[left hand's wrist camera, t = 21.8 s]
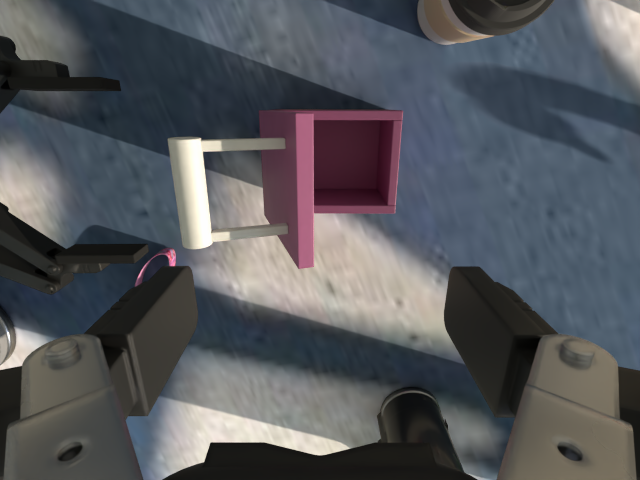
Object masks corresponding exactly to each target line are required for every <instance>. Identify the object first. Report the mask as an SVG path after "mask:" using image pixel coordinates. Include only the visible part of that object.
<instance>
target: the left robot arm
mask: <svg viewBox="0 0 640 480" xmlns="http://www.w3.org/2000/svg"><path fill="white" fill-rule="evenodd" d="M523 301H524V300H523V299H521V298H520V297H519V296H518V295H517V294H516V293H515V292H514V291H513V290H511V289H509V288H507V287H506V286H504V285H502V284H500V283H498V282H494V281H493V280H492V279H491V278H490V277H489V276H488V275H487V274H486V273H485V272H484V271H483V270H482V269H481V268H480V267H452V269H451V271H450V274H449V281H448V288H447V295H446V302H445V309H444V322H445V327H446V330H447V332H448V334H449V336H450V338H451V340H452V341H453V343H454V345H455V347H456V348H457V350H458V352H459V354H460V356H461V357H462V359H463V361H464V363H465V364H466V366H467V368H468V370H469V372H470V373H471V375H472V377H473V379H474V380H475V382H476V384H477V386H478V388H479V389H480V391H481V393H482V395H483V396H484V398H485V400H486V402H487V404H488V405H489V407H490V409H491V411H492V412H493V414H494V416H495V417H515V421H514V424H513V427H512V430H511V434H510V437H509V440H508V444H507V447H506V450H505V454H504V457H503V460H502V464H501V467H500V470H499V474H498V477H497V480H640V371H638V370H633V369H628V368H623V367H618V365H617V362H616V360H615V359H614V358H613V357H612V356H611V355H610V354H609V353H608V352H607V351H605V350H604V349H602V348H601V347H599V346H597V345H595V344H594V343H592V342H589V341H587V340H584V339H581V338H578V337H574V336H570V335H564V334H558V333H557V332H556V331H555V330H554V329H553V328H552V327H551V326H550V325H549V324H548V323H547V322H546V321H544V320H543V319H542V318H541V317H540V316H539V315H538V314H537V313H536V312H535V311H532V308H531V307H530V306H529V305H528V304H527V303H526V302H523ZM197 321H198V309H197V302H196V295H195V288H194V281H193V274H192V270H191V268H190V267H189V266H163V267H161V268H160V269H159V270H158V271H157V272H156V273H155V274H154V276H153V277H152V278H151V279H150V280H149V281H148V282H143V283H141V284H139V285H137V286H136V287H134V288H132V289H130V290H129V291H128V292H127V293H126V294H124V295H123V296H122V297H121V298H120V299H119V302H116V303H115V304H114V305H113V306H112V307H111V310H108V311H107V312H106V313H105V314H104V315H103V316H102V317H101V318H100V319H99V320H98V321H97V322H95V323H94V324H93V325H92V326H91V327H90V328H89V329H88V330H87V331H86V332H85V333H84V334H76V335H70V336H66V337H62V338H59V339H56V340H53V341H51V342H48V343H46V344H45V345H43V346H41V347H39V348H38V349H36V350H35V351H33V352H32V353H31V354H30V355H29V356H28V357H27V358H26V359H25V360H24V362H23V365H22V366H20V367H14V368H9V369H4V370H0V480H143V477H142V474H141V470H140V467H139V464H138V460H137V457H136V454H135V450H134V447H133V444H132V440H131V437H130V434H129V430H128V427H127V424H126V421H125V420H126V418H127V417H128V416H148V414H149V413H150V411H151V409H152V407H153V405H154V404H155V402H156V400H157V398H158V396H159V395H160V393H161V391H162V389H163V387H164V386H165V384H166V382H167V380H168V378H169V377H170V375H171V373H172V371H173V369H174V368H175V366H176V364H177V362H178V360H179V359H180V357H181V355H182V353H183V351H184V350H185V348H186V346H187V344H188V342H189V341H190V339H191V337H192V335H193V333H194V332H195V329H196V326H197ZM377 419H378V424H379V429H380V435H381V439H380V440H379V441H378V443H372V444H368V445H364V446H360V447H356V448H352V449H348V450H344V451H340V452H336V453H332V454H327V455H322V456H318V455H313V454H308V453H304V452H300V451H296V450H292V449H288V448H284V447H280V446H276V445H272V444H268V443H210V446H209V449H208V452H207V456H206V459H205V462H204V463H200V464H196V465H193V466H191V467H188V468H185V469H182V470H180V471H178V472H176V473H174V474H172V475H170V476H168V477H166V478H165V479H163V480H477V479H475V478H474V477H472V476H470V475H468V474H466V473H464V470H463V468H462V465H461V463H460V460H459V458H458V455H457V453H456V450H455V448H454V445H453V443H452V440H451V437H450V435H449V432H448V425H447V423H446V420H445V422H444V419H443V417H442V414H441V411H440V408H439V405H438V403H437V400H436V398H435V397H434V396H433V395H432V394H431V393H429V392H428V391H426V390H423V389H420V388H404V389H401V390H398V391H396V392H394V393H392V394H391V395H389V396H388V397H387V398H386V399H385V401H384V402H383V404H382V407H381V413H380V414H379V415H378V416H377Z"/></svg>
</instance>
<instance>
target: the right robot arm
mask: <svg viewBox="0 0 640 480" xmlns="http://www.w3.org/2000/svg"><path fill="white" fill-rule="evenodd" d="M15 50H16V47H15V44H14V42H13V41H12V40H11V39H9V38H7V37H3V36H0V113H1V112H2V111H3V110H4V108H5V107H6V106H7V105H8V104H9V102H10V101H11V100H12V99H13V98H14V97H15V95H16V94H17V93H18V92H19V91H20V89H21V90H33V91H121V88H120V82H119V80H113V79H107V78H101V77H70V76H69V71H68V66H66V65H64V64H61V63H58V62H53V61H48V60H20V59H19V58H18V56H17V55H16V53H15ZM8 210H9V209H8V207H7V206H5V205H4V204H2V203H1V202H0V276H2V277H5V278H8V279H10V280H13V281H16V282H18V283H21V284H23V285H26V286H29V287H31V288H34V289H36V290H39V291H42V292H44V293H47V294H54V293H56V292H57V291H59V290H60V289H62V288H63V287H64V286H66V285H67V284H69V283H70V282H72V281H73V279H74V276H73V274H72V273H97V272H99V271H102V270H103V269H104V268H106V267H107V266H108V265H110V263H136V262H137V261H138V260H139V259H141V258H142V257H143V256H144V255H145V254H147V253H148V252H149V250H148V244H75V245H73V246H71V247H69V248H68V249H65V248H63V247H62V246H60V245H59V244H57V243H56V242H54V241H53V240H51V239H49V238H48V237H46V236H45V235H43V234H42V233H40V232H39V231H37V230H36V229H34V228H32V227H31V226H29V225H28V224H26V223H25V222H23V221H22V220H20V219H19V218H17V217H15V216H14V215H12V214H11V213H9V212H8ZM15 345H16V334H15V330H14V327H13V324H12V322H11V320H10V318H9V317H8V315H7V314H6V312H5V311H4V310H3V309H2V308H1V307H0V365H1V364H3V363H4V362H5V361H6V360H7V359H8V358H9V357H10V356H11V355H12V353H13V351H14V349H15Z"/></svg>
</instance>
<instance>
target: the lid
mask: <svg viewBox="0 0 640 480" xmlns="http://www.w3.org/2000/svg"><path fill="white" fill-rule="evenodd" d="M259 123H260V138H250V139H209V140H201V138H200V137H173V138H168V145H169V152H170V159H171V166H172V173H173V180H174V187H175V194H176V201H177V208H178V215H179V222H180V229H181V236H182V243H183V246H184V247H185V248H188V249H200V248H205V247H208V246H210V245H211V244H212V242H216V241H225V240H235V239H244V238H254V237H263V236H273V235H277V236H278V237H279V239H280V240H281V242H282V244H283V245H284V247H285V248H286V250H287V251H288V253H289V255H290V256H291V258H292V259H293V261H294V262H295V264H296V266H297V267H298V269H301V268H308V267H314V136H313V113H305V112H289V111H273V110H259ZM239 150H261V160H262V178H263V197H264V215H265V217H266V218H267V220H268V221H269V223H270V224H269V225H258V226H248V227H238V228H227V229H217V230H211V223H210V214H209V205H208V196H207V187H206V178H205V169H204V160H203V152H209V151H239Z"/></svg>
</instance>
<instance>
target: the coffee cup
mask: <svg viewBox="0 0 640 480" xmlns="http://www.w3.org/2000/svg"><path fill="white" fill-rule="evenodd" d="M553 2H554V0H419V2H418V8H417V16H418V22H419V25H420V27H421V29H422V31H423V33H424V34H425V35H426V36H427V37H428V38H429V39H430V40H432V41H433V42H435V43H438V44H443V45H448V44H454V43H462V42H468V41H473V40H478V39H482V38H487V37H492V36H497V35H505V34H509V33H512V32H515V31H517V30H519V29H521V28H523V27H525V26H526V25H528V24H529V23H531V22H532V21H534V20H535V19H537V18H538V17H539V16H541V15H542V14H543V13H544V12H545V11H546V10H547V9H548V8H549V7H550V5H551V4H552V3H553Z"/></svg>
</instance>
